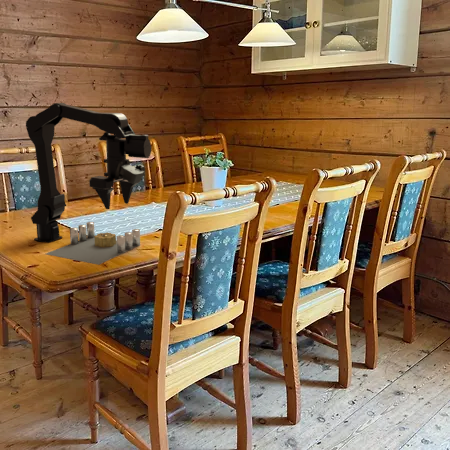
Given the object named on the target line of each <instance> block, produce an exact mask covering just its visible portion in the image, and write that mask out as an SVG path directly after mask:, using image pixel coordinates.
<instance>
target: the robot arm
mask: <svg viewBox="0 0 450 450" xmlns="http://www.w3.org/2000/svg"><path fill="white" fill-rule="evenodd" d="M63 119H68V120H71V121H76V122H80V123H84V124H88V125H93V126H95V127H96V128H98V129H99V130H101V131H103V134H102V135H101V136H100V137H99V138H98V139H99V140H100V141H105V144H106V147H105V148H106V158H104V159H103V163H105V164H106V172H104V173H103V175H97V176H91V177H90V179H89V181H88V182H89V183H88V185H89V187H90V188H92V189H93V190H94V191H95V192H96V193H97V195H98V196H99V199H100V200H101V202H102V204H103V207H104V208H105V210H110V209H111V208H110V207H111V193H112V192H113V191H114V189H115V188H114V187H113V186H114V184H115V183H118V182H119V185H120V189H121V194H122V198H123V201H124V204H127V205H128V204H129V202H130V199H131V196H132V192H133V189H134V187H136V185H138V184H139V183H141V181H142V180H143V177H145V176H146V174H145V173H146V172H145V171H146V169H145V166H144V165H143V164H138V165H131V164H130V163H131V162H130V160H129V159H128V158H127V156H128V157H129V158H136V159H137V158H138V159H139V158H140V159H149V158H150V157H151V154H152V145H151V140H150V139H149V134H142V135H141V134H136V133H135V132H134V129H133V128H132V127H131V125H130V124H129V120H128V118H127V116H126V114H123V113H121V112H99V111H94V110H92V109H87V108H83V107H78V106H74V105H70V104H66V103H65V102H55V103H53V104H51V105H50V106H49V107H48V108H46V109H44V110H42V111H41V112H39V113H37V114H36V115H33V116H30V117H29V118H28V119H27V120H26V121H25V128H26V129H25V130H26V133H27V135H28V137H29V139H30V141H31V143H32V144H33V145H34V149H35V157H36V165H37V171H38V181H39V187H40V193H39V196H38V199H37V210H36V211H35V212H34V213H33V215H31V217H30V219H31V222H32V224H33V225H35V227H36V235H37V237H35V238H34V237H33V241H36V242H41V243H47V244H49V243H52V242H55V241H58V240H61V239H63V236H62V235H60V227H59V221H58V220H60V219H61V216H62V214H63V213H64V212H65V208H66V207H67V203H66V200H65V199H66V195H65V193H62V194H61V193H60V191H59V190H58V188H57V186H58V185H57V180H56V173H55V163H54V156H53V149H52V148H53V147H52V144H53V140H54V137H55V127H56V126H57V125H59V124H60V123H61V121H63Z"/></svg>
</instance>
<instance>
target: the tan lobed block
mask: <svg viewBox="0 0 450 450" xmlns="http://www.w3.org/2000/svg"><path fill="white" fill-rule="evenodd" d="M94 238H95V246H99V247H103V248H104V247H111V246H114V245H115V244H116V241H117V235H116V233H112V232H104V233H103V232H101V233H97V234H95V236H94Z"/></svg>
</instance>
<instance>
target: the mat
mask: <svg viewBox="0 0 450 450" xmlns="http://www.w3.org/2000/svg"><path fill="white" fill-rule="evenodd" d="M78 242H79V244H77V245H71V243H68V244H66V245H64V246H61V247H59V248H56V249H54V250H52V251H48V252H46V253H45V255H48V256H51V257H52V256H53V257H58V258H64V259H67V260H73V261H76V262H77V261H78V262H83V263H87V264H92V265H98V266H99V265H102V264H103V263H106V262H108V261H110V260H111V259H114V258H116V257H119V256H120V255H123V254H124V253H117V240H116V244H115V245H114V246H111V247H104V248H103V247H99V246H95V238H87V241H83V242H81V241H79V240H78ZM137 247H138V246H133V249H136V248H137ZM129 251H130V250H126V249H125V253H126V252H129Z"/></svg>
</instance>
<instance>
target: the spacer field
mask: <svg viewBox="0 0 450 450" xmlns="http://www.w3.org/2000/svg"><path fill="white" fill-rule="evenodd" d="M69 235H70V244H71V245H77V244H79V242H78V241H81V242H83V241H87V238H94V236H95V235H96V233H95V222H93V221H87V222H86V224H79V225H78V226H77V227H70V228H69ZM116 241H117V253H123V254H126V252H125V249H126V250H129V251H131V250H133V249H134V248H133V246H137V247H140V246H141V229H138V228H134V229H132V230H131V231H126V232H124V235H119V234H118V235H116Z"/></svg>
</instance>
